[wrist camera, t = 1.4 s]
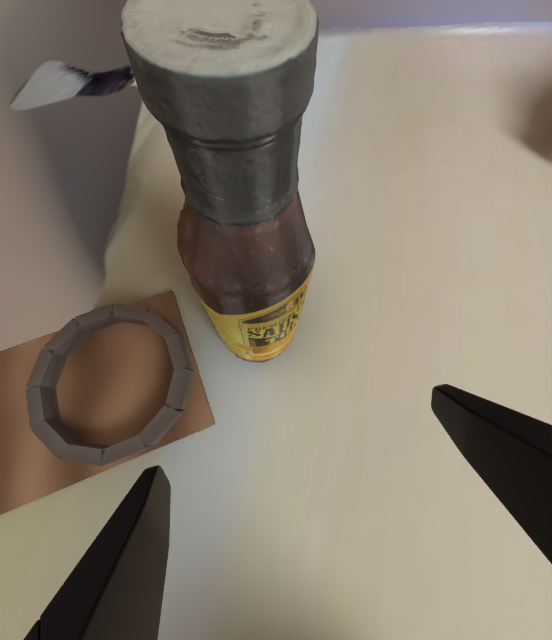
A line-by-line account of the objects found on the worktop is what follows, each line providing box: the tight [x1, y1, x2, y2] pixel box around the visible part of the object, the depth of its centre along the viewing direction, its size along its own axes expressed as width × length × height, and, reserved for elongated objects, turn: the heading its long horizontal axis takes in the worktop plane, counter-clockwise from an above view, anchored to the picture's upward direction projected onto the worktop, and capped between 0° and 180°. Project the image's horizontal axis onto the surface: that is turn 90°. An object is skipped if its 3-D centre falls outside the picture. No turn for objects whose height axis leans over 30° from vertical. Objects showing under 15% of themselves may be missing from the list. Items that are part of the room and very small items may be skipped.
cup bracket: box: [0, 291, 215, 515], centre depth 21 cm, size 18×12×2 cm, turn 112°
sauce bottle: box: [121, 0, 318, 362], centre depth 15 cm, size 6×6×20 cm
